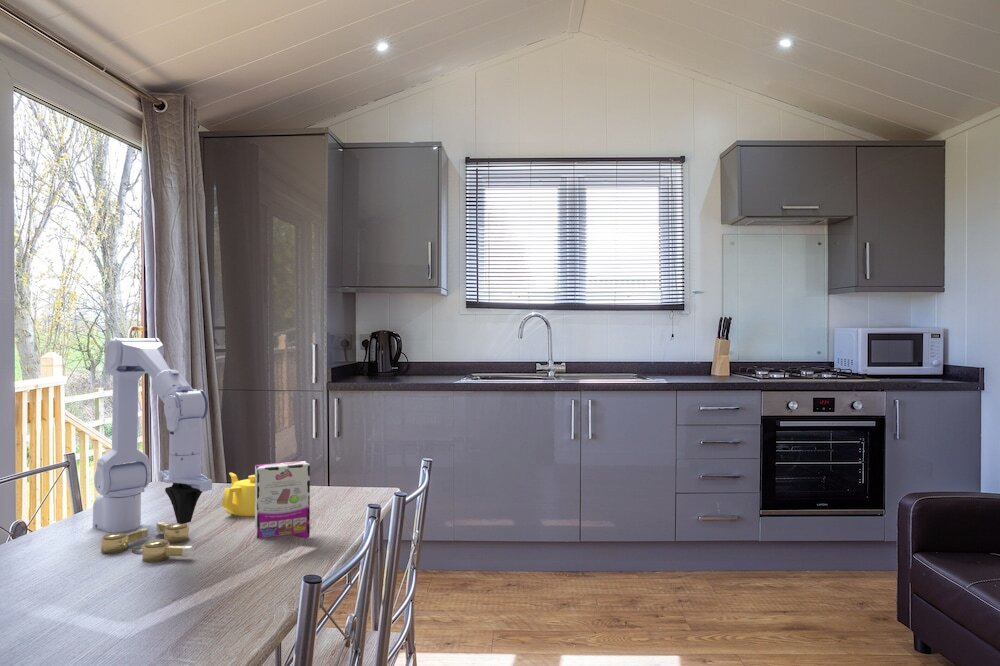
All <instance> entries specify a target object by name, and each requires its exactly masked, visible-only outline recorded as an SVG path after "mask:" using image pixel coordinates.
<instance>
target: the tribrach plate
mask: <svg viewBox="0 0 1000 666" xmlns="http://www.w3.org/2000/svg"><path fill="white" fill-rule="evenodd" d="M143 545H144V543H142V544H139V545H136V546H134V547H133V548H132V550H131V551H132V553H133V554H135V555H142V549H143Z"/></svg>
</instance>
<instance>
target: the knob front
mask: <svg viewBox="0 0 1000 666" xmlns="http://www.w3.org/2000/svg"><path fill="white" fill-rule="evenodd" d="M143 544H144V545H143V549H142V554H141V555H142V556H141V557H142V562H144V563H157V562H158V563H159V562H163V561H166V560H168V559H169V558H170V557H182V558H190V557H191V556H193V551H194V550H193V549H194V547H193V545H170V544H171V543H169V542H168V540H165V539H164V538H161V539H160V538H157V539H151V540H148V541H146V542H144V543H143Z"/></svg>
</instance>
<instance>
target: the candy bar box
mask: <svg viewBox="0 0 1000 666" xmlns="http://www.w3.org/2000/svg"><path fill="white" fill-rule="evenodd" d="M254 475H255V516H254V533H255V536H256V538H257V539H261V538H269V537H270V538H271V537H278V536H285V535H287V536H288V535H292V537H297V538H304V539H308V538H310V532H311V531H310V530H311V529H310V528H311V527H310V525H311V524H310V523H311V522H310V521H311V519H310V518H311V517H310V516H311V512H310V511H311V509H310V508H311V504H310V499H311V498H310V497H311V495H310V494H311V490H310V489H311V482H310V481H311V479H310V476H311V464H310V463H309V462H308V461H307V460H300V461H299V460H298V461H286V462H278V463H277V462H276V463H264V464H263V463H262V464H255V466H254Z"/></svg>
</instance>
